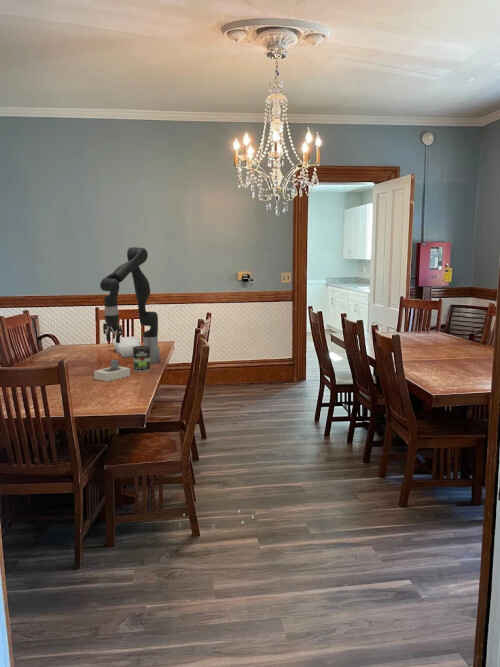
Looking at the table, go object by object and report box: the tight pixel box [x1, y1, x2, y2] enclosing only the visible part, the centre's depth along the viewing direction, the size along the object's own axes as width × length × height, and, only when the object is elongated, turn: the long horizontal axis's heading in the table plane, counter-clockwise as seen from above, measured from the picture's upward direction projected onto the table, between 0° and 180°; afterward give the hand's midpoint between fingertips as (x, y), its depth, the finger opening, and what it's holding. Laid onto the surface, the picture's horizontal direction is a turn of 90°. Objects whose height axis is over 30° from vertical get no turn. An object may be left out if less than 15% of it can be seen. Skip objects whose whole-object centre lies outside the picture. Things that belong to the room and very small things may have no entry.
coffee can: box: [132, 345, 152, 373], centre depth 311 cm, size 10×10×14 cm
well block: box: [93, 365, 131, 382], centre depth 294 cm, size 16×12×4 cm
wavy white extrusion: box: [112, 336, 142, 359], centre depth 361 cm, size 35×16×11 cm, turn 22°
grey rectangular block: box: [110, 359, 120, 372], centre depth 294 cm, size 6×4×9 cm, turn 141°
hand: (113, 342), depth 293 cm, fingers open, 8 cm apart
